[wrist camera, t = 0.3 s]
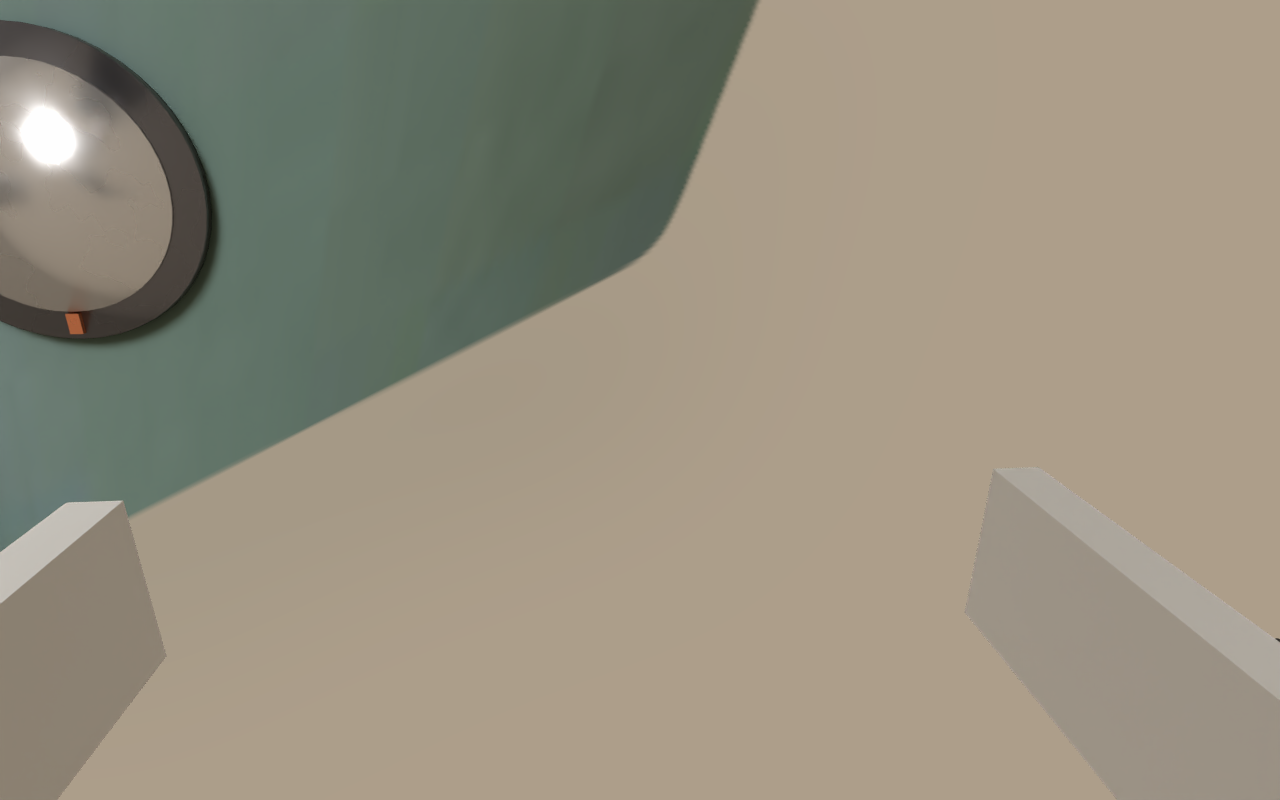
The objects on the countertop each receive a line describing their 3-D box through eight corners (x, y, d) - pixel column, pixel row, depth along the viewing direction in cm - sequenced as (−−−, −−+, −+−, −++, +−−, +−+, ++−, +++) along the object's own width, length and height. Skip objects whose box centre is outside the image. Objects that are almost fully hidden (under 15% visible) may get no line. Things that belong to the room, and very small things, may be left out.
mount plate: (-171, 16, 31) (-190, 13, 30) (178, 26, 32) (168, 24, 31) (-63, 336, 35) (-77, 341, 35) (235, 334, 37) (228, 338, 36)
